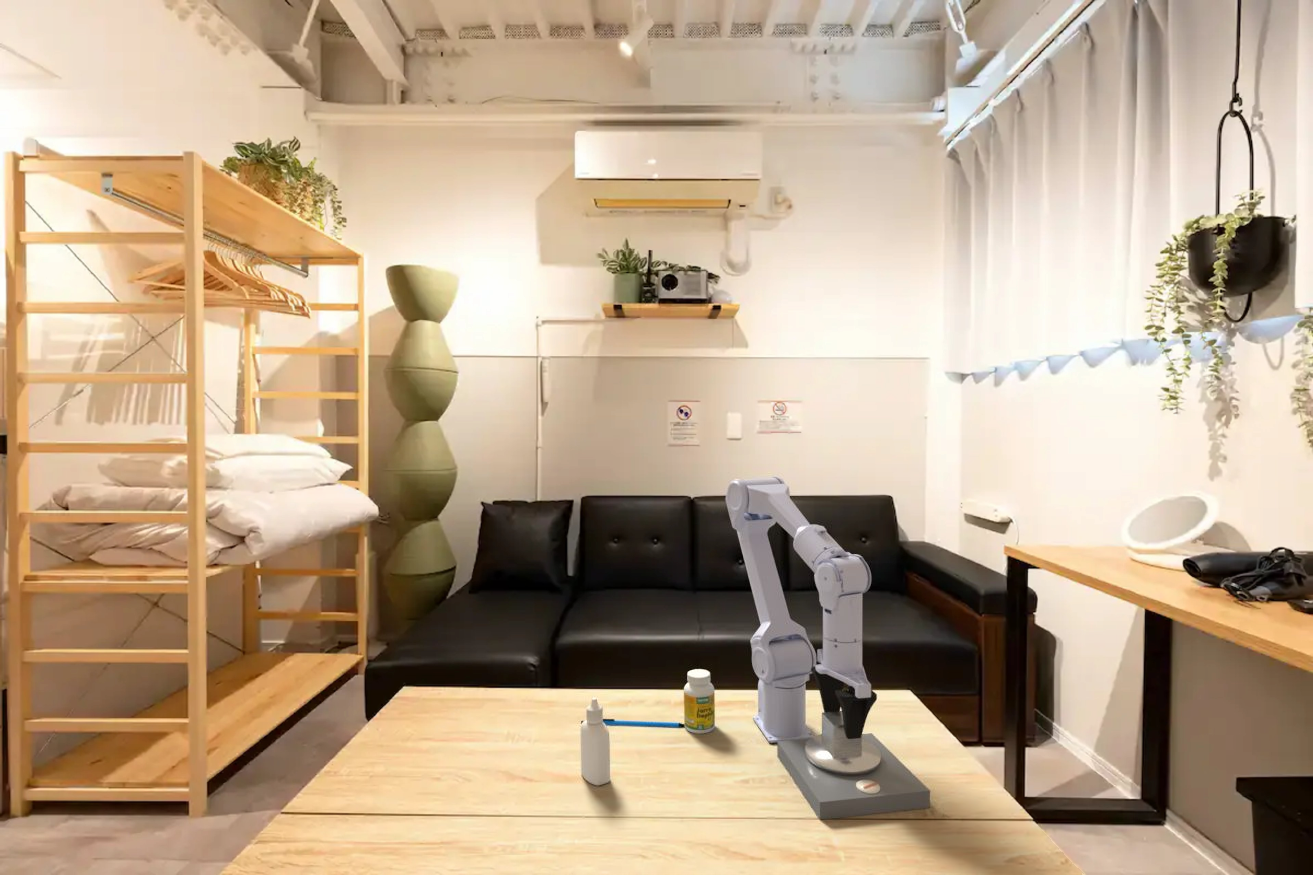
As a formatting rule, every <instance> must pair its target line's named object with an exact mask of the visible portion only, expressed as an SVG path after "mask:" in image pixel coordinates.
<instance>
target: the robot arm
mask: <svg viewBox="0 0 1313 875" xmlns="http://www.w3.org/2000/svg"><path fill="white" fill-rule="evenodd" d="M790 494H791V492H790V486H789V485H787V484H786V483H785V482H784V480H783V479H782V478H781V477H779V476H772V477H763V478H762V477H761V478H748V479H746V478H745V479H742V478H741V479H739V478H734V479H732V480H731V481H730V483H729V484H728V487H727V491H726V495H725V498H724V499H725V504H726V507H727V511H728V516H729V519H730V522H731V527H732V528H733V529H734V530H735V531H736V533H737V537H738V541H739V545H740V549H741V553H742V556H743V561H744V563H745V564H744V565H745V568H746V572H747V576H748V580H749V584H750V588H751V592H752V596H753V600H754V604H755V608H756V611H757V616H758V619H759V622H760V626H759V627H758V629H757V630H756V631H755V633H753V636H752V637H751V638H750V639H749V640H750V647H751V663H752V664H751V665H752V669H753V671H754V673H755V675H756V676H757V677H758V679H759V680H758V684H757V699H758V700H757V714H755V715H753V716H752V719H753V721H754V722H755V724H756V725H757V726H758V728H759V729H760V731H761V732H762V734H763V736H764V737H765V739H766V740H767V742H769V744H770V743H771V744H774V743H777V742H779V741H790V740H801V739H810V738H812V737H814V736H815V735H814V734H813V732H812V731H811V730H810V729H809V728H808V726H807V724H806V720H807V719H806V718H807V717H806V714H807V711H806V710H807V709H806V706H807V705H806V700H807V698H806V693H807V692H806V682H808V681H810V675H811V674H812V675H813V677H814V679H815V682H816V685H817V687H818V690H819V695H820V700H821V704H822V709H823V712H835V711H842V715H843V723H844V731H845V735H846V737H847V738H848V739H856V738H861V736H862V734H863V732H864V728H865V724H866V722H867V721H866V720H867V718H868V715H869V712H870V711H871V709H872V707H873V705H874V704H875V703H876V701H877V700H878V695H877V693H876V692H875V691H873V689H872V684H871V682H870V681H869V680H868V678H867V674H866V671H865V668H864V665H863V594H865V593H866V592H868V590H869V589H870V587H871V584H872V573H871V570H870V569H871V568H870V567H869V565H868V563H867V562H866V561H865V559H864V557H863V556H861V555H860V554H855V553H854V554H852V553H850V552H849V551H845V549H843V547H841V545H839V543H837V541H836V540H835V539H834V538H833V537H832V536H831V535H830V534H829V533H828V531H827V528H825V526H824V525H819V524H810V522H809V521H808V519H807V518H806V517H805V516H804V514H802V513H803V512H802V511H801V510H799V507H797V506H796V504H795V503H794V502H793V500H792V499H791V498H790V497H791V495H790ZM776 523H777V524H778V525H779V526H780V527H781V528H783V529H784V531H786V532H787V533H788V534H789V535H790V537H792V538H793V544H792V545H793V549H794V551H795V552H796V553H797V554H798V555H799V557H800V558H801V559H802V560H803V562H804V563H805V564H806V565H807V566H808V567H809V568H810V570H811V571H812V572H813V573H814V576H813V577H814V578H813V579H814V582H815V586H816V589H817V591H818V595H819V597H818V598H819V600H818V601H819V603H820V606H821V607H822V648H818V649H817V650H816V651H817V653H816V651H815V648H814V647H813V644H812V643H811V641H810V640H809V637H808V635H807V632H806V628H805V627H804V626H802V625H800V624H798V623H797V622H796V621H794V620H792V619H791V617H790V616H791V615H790V613H789V610H788V606H787V602H786V598H785V595H784V591H783V587H782V584H781V580H780V576H779V573H778V569H777V566H776V562H775V558H774V555H773V551H772V547H771V544H770V543H771V542H770V541H769V536H768V532H769V529H770V528H771V527H772V526H773V527H774V525H775V524H776ZM777 640H780V641H777ZM771 641H774V642H771ZM817 662H818V663H819V664H817ZM845 684H846V685H847V686H848V687H847V689H844V685H845Z"/></svg>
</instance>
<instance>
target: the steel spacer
mask: <svg viewBox="0 0 1313 875" xmlns="http://www.w3.org/2000/svg"><path fill="white" fill-rule="evenodd" d="M821 734H822V745H823V747H824V748H825V749H826V750H827V751H828V753H829V754H830V755H831V756H832V757H833V759H838V758H849V757H859V756H862V736H861V738H856V739H848V738H847V737H846V735H845V731H844V723H843V715H842V710H840V711H835V712H824V711H823V712H821Z"/></svg>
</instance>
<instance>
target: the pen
mask: <svg viewBox="0 0 1313 875" xmlns="http://www.w3.org/2000/svg"><path fill="white" fill-rule="evenodd" d="M584 721H585V720H581V721H580V722H581V724H582V723H583V722H584ZM603 722H604V723H605V725H606V726H608V725H609V726H627V727H628V726H629V727H630V726H633V727H653V728H654V727H658V728H659V727H660V728H685V724H684V723H682V722H665V721H662V722H661V721H645V720H644V721H640V720H615V718H603Z"/></svg>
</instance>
